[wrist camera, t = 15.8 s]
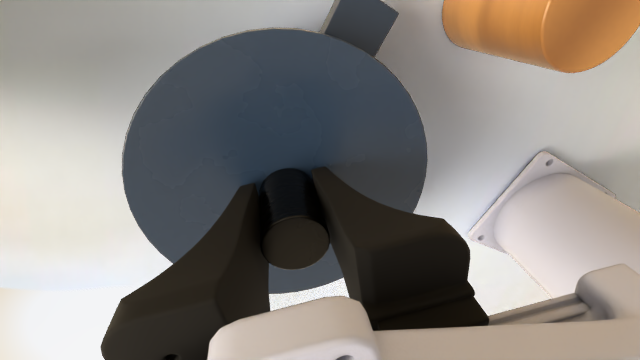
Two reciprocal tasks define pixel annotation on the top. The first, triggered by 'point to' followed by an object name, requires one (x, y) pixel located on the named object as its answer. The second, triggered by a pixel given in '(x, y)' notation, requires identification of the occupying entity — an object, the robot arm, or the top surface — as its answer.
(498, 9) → the peg
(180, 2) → the top surface
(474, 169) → the top surface
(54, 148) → the top surface
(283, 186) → the lid
